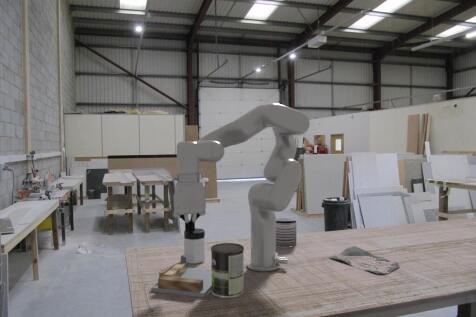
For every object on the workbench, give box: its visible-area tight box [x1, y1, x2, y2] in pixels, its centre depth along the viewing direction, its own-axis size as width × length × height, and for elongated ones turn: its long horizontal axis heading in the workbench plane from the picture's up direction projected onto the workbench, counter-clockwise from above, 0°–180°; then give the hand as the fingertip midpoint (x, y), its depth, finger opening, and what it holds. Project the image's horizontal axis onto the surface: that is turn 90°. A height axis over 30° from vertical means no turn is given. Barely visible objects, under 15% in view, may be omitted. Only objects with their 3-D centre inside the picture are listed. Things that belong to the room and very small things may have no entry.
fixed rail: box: [157, 276, 203, 293], centre depth 114 cm, size 14×3×3 cm, turn 74°
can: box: [276, 217, 297, 248], centre depth 167 cm, size 11×11×12 cm
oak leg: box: [163, 262, 187, 277], centre depth 123 cm, size 12×3×3 cm, turn 166°
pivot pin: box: [180, 254, 187, 264], centre depth 130 cm, size 2×2×5 cm
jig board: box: [150, 266, 212, 298], centre depth 122 cm, size 18×20×4 cm
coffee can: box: [210, 242, 245, 299], centre depth 114 cm, size 10×10×14 cm
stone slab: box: [328, 245, 401, 275], centre depth 141 cm, size 24×16×2 cm, turn 33°
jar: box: [183, 227, 206, 265], centre depth 145 cm, size 9×8×12 cm
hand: (190, 233), depth 121 cm, fingers closed
